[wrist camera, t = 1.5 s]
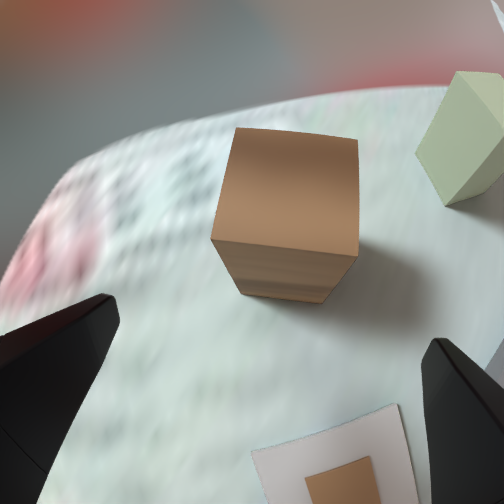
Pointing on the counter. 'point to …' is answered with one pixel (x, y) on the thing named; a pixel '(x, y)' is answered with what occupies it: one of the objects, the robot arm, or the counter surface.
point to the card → (342, 464)
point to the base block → (497, 366)
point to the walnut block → (288, 213)
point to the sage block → (466, 137)
